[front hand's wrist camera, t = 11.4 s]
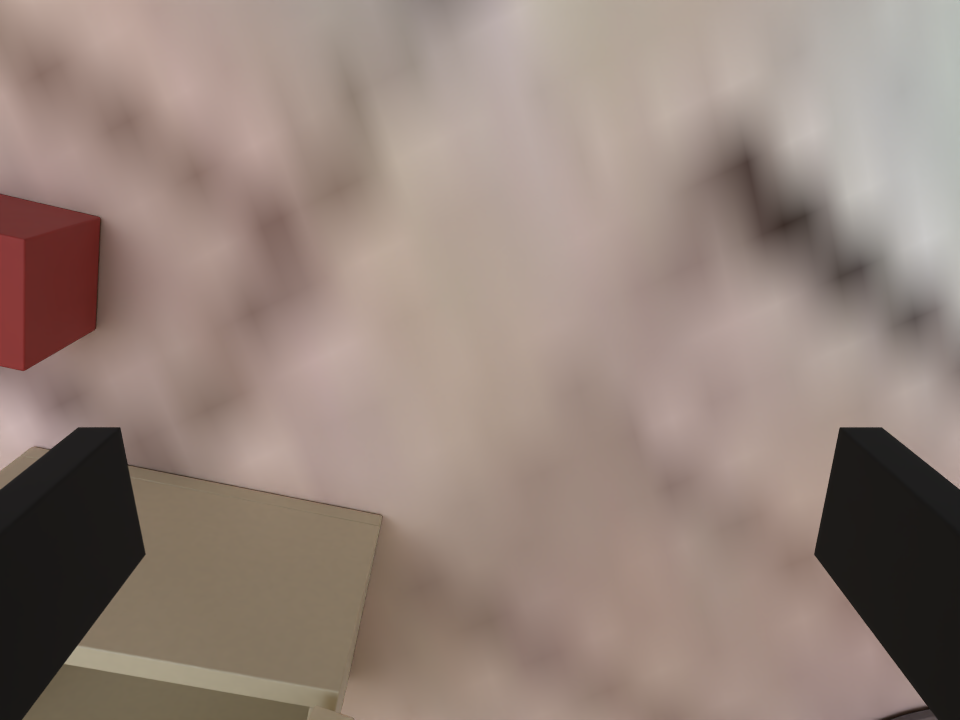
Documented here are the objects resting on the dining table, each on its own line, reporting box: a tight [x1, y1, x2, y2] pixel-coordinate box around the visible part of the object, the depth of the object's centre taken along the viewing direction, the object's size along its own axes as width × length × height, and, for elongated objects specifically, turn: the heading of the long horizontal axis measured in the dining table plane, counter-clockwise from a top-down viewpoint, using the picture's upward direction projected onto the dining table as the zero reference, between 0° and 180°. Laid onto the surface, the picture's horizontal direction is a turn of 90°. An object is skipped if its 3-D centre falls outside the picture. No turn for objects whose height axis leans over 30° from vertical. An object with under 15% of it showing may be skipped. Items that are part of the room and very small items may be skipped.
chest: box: [0, 447, 382, 720], centre depth 27 cm, size 15×10×10 cm, turn 77°
